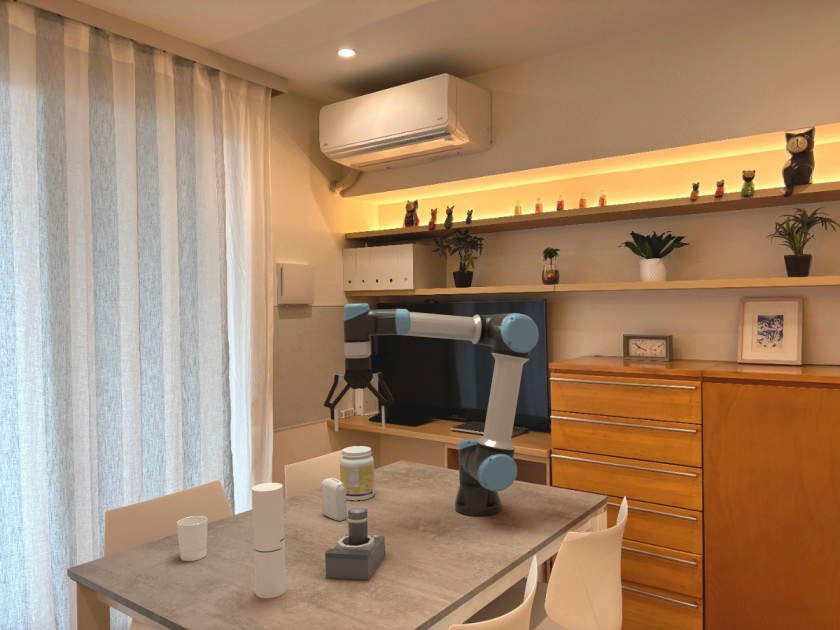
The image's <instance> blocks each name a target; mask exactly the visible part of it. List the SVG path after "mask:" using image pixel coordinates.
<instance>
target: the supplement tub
mask: <svg viewBox="0 0 840 630" xmlns="http://www.w3.org/2000/svg"><path fill="white" fill-rule="evenodd" d="M371 454H373V453H372V447H370V446H366V445H365V446H364V445H359V446H358V445H357V446H355V445H354V446H348V447H345V448H343V449H342V450H341V456H342V457H341V458H340V459H339V471H340V476H339V477H340V478H339V481H341V482H342V483H343V484H344V485H345V488H346V501H351V500H353V502H356V501H357V502H359V501H358V500H360V501H366V500H369V499H372V498H373V497H374V495H375V494H376V493H375V492H376V488H375V487H376V486H375V484H376V483H375V459H374V457H373V456H372V455H371Z"/></svg>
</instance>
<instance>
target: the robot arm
mask: <svg viewBox="0 0 840 630" xmlns="http://www.w3.org/2000/svg"><path fill="white" fill-rule="evenodd" d="M342 320H343V321H342V322H343V340H344V341H343V342H344V343H343V345H344V346H343V347H344V348H343V349H344V356H345V358H344V374H339V373H335V375H334V378H333V384H332V386H331V388H330V391H329V392H328V394H327V396H326V398H325V401H324V403H323V406H324V408H329V410H330V411H329V412H330V419H331V421H333V420H334V432H339V414H338V413H339V411H338V410H339V409H338V407H336V406H337V405H338V404H339V403H340V401H341V400H342V399H343V398H344V396H345V395H346V394H347V393H348V392H349V390H350V389H352V390H358V389H359V390H360V389H361V390H365V389H366V388H367V389H368V390H369V391H370V392H371V393H372V394H373V395H374V396H375V397H376V399H378V401H379V402H380V403H381V404H382V405H381V427H382V430H383V431H384V430H386V420H385V419H386V418H389V416H390V415H389V407H390V406H391V405H393V404H395V399H394V398H393V395H392V393H391V392H390V390H389V388H388V386H387V384H386V383H385V381H384V379H383V373H382V371H378V372H376V373H373V372H372V358H371V357H370V355H371V353H372V351H371V336H390V335H391V336H394V335H395V336H396V335H397V336H412V337H423V338H435V339H437V338H438V339H447V340H448V339H450V340H458V341H459V340H462V341H470V342H472V344H473V345H483V346H488V347H491V355H492V357H493V358H494V360H495V362H494V367H493V374H492V380H491V386H490V392H489V399H488V404H487V411H486V417H485V424H484V429H483V430H484V431H483V435H482V437H475V438H473V437H472V438H464V439H462V440H460V441H458V449H457V452H458V470H459V471H458V473H459V487H458V490H457V492H456V493H457V494H456V497H455V500H454V509H455V511H456V512H457V513H459V514H462V515H466V516H473V517H485V516H491V515H494V514H498V513H499V512H501V510H502V501H501V498H500V495H499V493H498V492H503V491H505V490H507V489H508V488H510V487H511V486H512V485H513V483H515V481H516V479H517V476H518V475H517V474H518V466H517V463H516V462H515V461H516V460H515V459H514V456H515V450H516V449H515V448H516V447H515V445H513V442H512V436H513V430H514V429H513V428H514V424H515V418H516V413H517V412H516V410H517V406H518V405H517V404H518V397H519V393H520V386H521V379H522V374H523V368H524V364H526V363H527V362H528V361H530V355H531V351H532V349H534V348H535V346H537V343H538V341H539V337H540V335H539V333H540V332H539V328H538V326H537V324H536V322H535V321H534V320H533V318H531V317H530V316H529V315H526V314H523V313H522V314H521V313H516V312H512V313H511V312H510V313H498V314H496V313H495V314H475V315H474V316H472V317H471V316H463V315H449V314H438V313H437V314H436V313H425V312H415V311H409V310H408V309H407V308H392V309H389V308H388V309H385V308H384V309H381V308H379V309H371V308H370V304H368V303H347V304H345V305H344V307H343V319H342ZM373 378H374V379H375V380H376V381H378V382H379V385H380V387H381V388H382V390H383V392H384V394H385V396H386V398H387V399H388V400H387V399H385V397H384V396H383V395H382V394H381V393H380V392H379V391H378V390H377V389H376V388H375V386H374V385H373V384H372V382H371V381H372V380H373ZM342 380H344V382H346V385H345V386H344V387H343V388H342V390H341V391H340V393H338V395H337V396H336V398H335V399H334V400H333V401H332V402H331V400H332V397H333V396H334V394H335V391H336V389H337V387H338V384H339V383H341V382H342Z"/></svg>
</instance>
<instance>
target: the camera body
mask: <svg viewBox="0 0 840 630" xmlns="http://www.w3.org/2000/svg"><path fill="white" fill-rule="evenodd" d="M385 556H386V536H385V535H384V536H382V535H379V534H374V535H370V534H368V543H366V544H362V545H359V546H350V545H349V534H345V535H344V536H342V537H340V539H338V541H337V542H336V545H335V546H334V548H328V549H327V550H326V552H324V557H325V558H324V559H325V560H324V561H325V578H326V579H338V580H339V579H341V580H355V581H356V580H358V581H369V580H370V578H371V577H372V576H373V574H374V572H375V571H376V570H377V568H378V567H379V565H380V564H381V562H382V560H383V559H384V558H385Z"/></svg>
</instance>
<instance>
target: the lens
mask: <svg viewBox="0 0 840 630" xmlns="http://www.w3.org/2000/svg"><path fill="white" fill-rule="evenodd" d="M368 517H369V516H368V509H367V508H365V507H364V508H363V507H354V508H351V509H348V511H347V523H348V525H347V527H348V529H347V530H348V535H349V545H350V546H359V545H362V544H366V543H368V535H369V527H368Z"/></svg>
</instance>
